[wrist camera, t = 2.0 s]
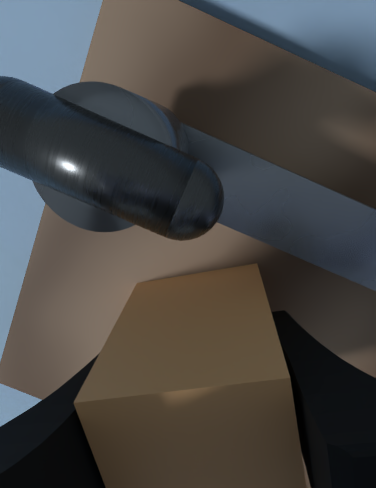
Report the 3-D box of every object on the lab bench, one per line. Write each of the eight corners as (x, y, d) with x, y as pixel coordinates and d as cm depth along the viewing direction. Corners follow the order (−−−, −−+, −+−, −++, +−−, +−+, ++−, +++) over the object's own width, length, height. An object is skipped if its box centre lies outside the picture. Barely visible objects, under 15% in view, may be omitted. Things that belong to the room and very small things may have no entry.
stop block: (257, 263, 12) (289, 377, 7) (274, 367, 14) (314, 537, 8) (136, 282, 13) (73, 402, 7) (164, 381, 14) (128, 547, 9)
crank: (578, 263, 11) (1015, 426, 5) (494, 356, 12) (763, 577, 6) (113, 52, 10) (-40, -60, 4) (75, 175, 12) (-84, 227, 6)
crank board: (612, 211, 12) (651, 219, 11) (356, 504, 17) (365, 529, 16) (121, -17, 11) (110, -33, 10) (8, 366, 16) (-7, 382, 15)
